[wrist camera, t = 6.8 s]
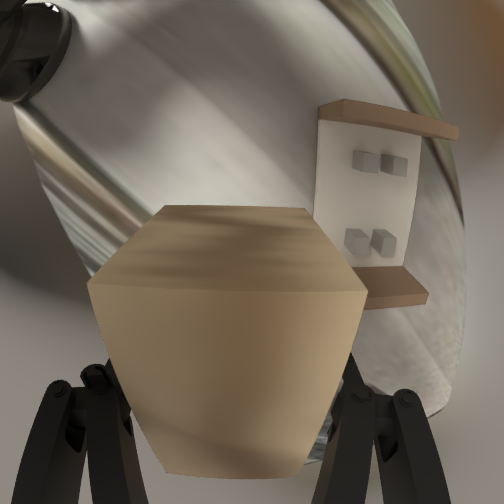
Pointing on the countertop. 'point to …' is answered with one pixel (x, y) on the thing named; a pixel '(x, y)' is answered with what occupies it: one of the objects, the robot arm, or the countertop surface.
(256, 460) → the shelf block
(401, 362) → the countertop surface
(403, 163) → the peg stand
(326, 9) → the countertop surface
